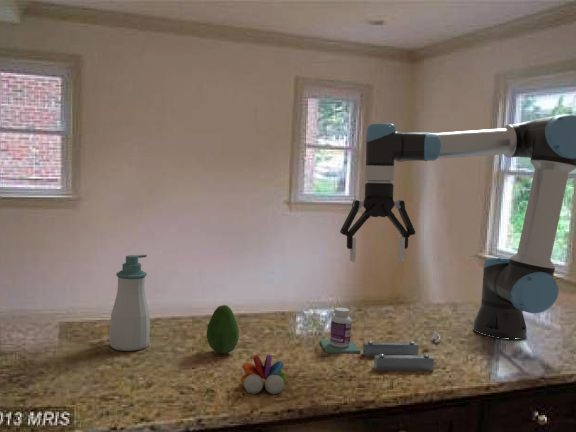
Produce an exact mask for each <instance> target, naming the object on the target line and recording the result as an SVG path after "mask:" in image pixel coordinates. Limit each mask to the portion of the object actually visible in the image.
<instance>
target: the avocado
mask: <svg viewBox="0 0 576 432" xmlns="http://www.w3.org/2000/svg"><path fill="white" fill-rule="evenodd" d="M239 331H240V330H239V325H238V322H237V320H236V318H235V314H234V312H233V310H232V308H231V307H229V305H225V304H222V305H219V306H217V308H216V309H215V310H214V311H213V313H212V316H211V318H210V320H209V321H208V324H207V328H206V340H207V343H208V345H209V347H210V348H211V349H212V350H213V351H214V352H215V353H218V354H223V355H225V354H229V353H231V352H233V351H234V350H235V348H236V346H237V345H238V341H239V339H240V332H239Z"/></svg>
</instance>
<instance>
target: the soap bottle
mask: <svg viewBox="0 0 576 432" xmlns="http://www.w3.org/2000/svg"><path fill="white" fill-rule="evenodd" d="M147 256H148V255H147V254H137V255H134V254H132V255H131V254H130V255H126V256H125V262H124V263H122V269H121V270H119V271H117V272H116V273H115V275H116V277H117V290H116V294H115V300H114V302H113V307H112V311H111V313H110V323H109V339H108V340H109V341H108V342H109V346H110V347H111V348H112V349H114V350H115V351H122V352H134V351H140V350H143V349H146V347H148V346H149V345H150V340H151V339H150V337H151V336H150V335H151V334H150V333H151V331H150V330H151V323H150V318H151V317H150V309H149V304H148V301H147V296H146V289H145V287H146V285H145V279H146V277H147V275H148V274H147V272H146V271H144V270H142V264H141V263H140V262H139V259H141V258H147Z"/></svg>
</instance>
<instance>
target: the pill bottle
mask: <svg viewBox="0 0 576 432" xmlns="http://www.w3.org/2000/svg"><path fill="white" fill-rule="evenodd" d="M350 311H351V310H350V309H349V308H346V307H336V308H335V307H334V311H333V314H334V315H333V316H332V317H331V318H330V319H331V321H330V333H329V335H330V336H329V340H330V344H331V345H332V346H334V347H339V348H345V347H348V346H349V345H350V340H351V339H352V338H351V335H352V318H351V317H350Z"/></svg>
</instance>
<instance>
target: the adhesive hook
mask: <svg viewBox="0 0 576 432" xmlns="http://www.w3.org/2000/svg"><path fill="white" fill-rule="evenodd" d="M441 337H442V334H440V333H439V332H437V331H434V332H433V334H432V337H431V341H432V342H433V341H434V343H436V344H438V343H439V342H441V341H442V340H441Z"/></svg>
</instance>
